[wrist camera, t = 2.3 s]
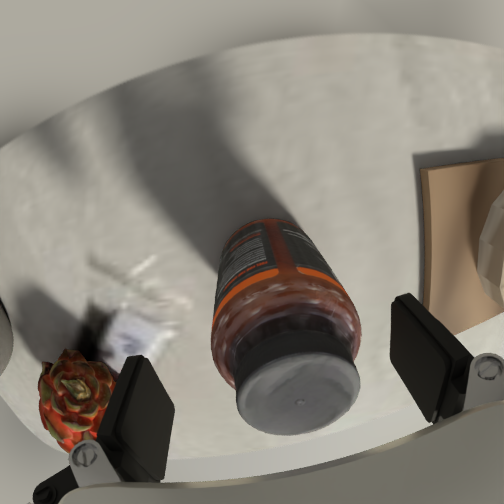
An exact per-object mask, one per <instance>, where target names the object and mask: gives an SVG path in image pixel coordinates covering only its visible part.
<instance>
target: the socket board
mask: <svg viewBox="0 0 504 504" xmlns="http://www.w3.org/2000/svg"><path fill="white" fill-rule="evenodd" d="M420 174H421V184H422V197H423V212H424V239H425V269H424V296H423V306H424V307H425V308H426V309H427V310H428V311H429V312H430V313H431V314H432V315H433V316H434V317H435V318H436V319H438V320H439V321H440V322H441V323H442V324H443V325H444V326H445V327H446V328H447V329H448V330H449V331H450V332H451V333H452V334H453V335H456V334H458V333H460V332H463V331H465V330H467V329H469V328H471V327H474V326H476V325H478V324H480V323H482V322H484V321H486V320H488V319H490V318H492V317H494V316H496V315H498V314H500V313H502V312H504V158H498V159H489V160H481V161H473V162H465V163H458V164H450V165H443V166H436V167H430V168H423V169H420Z"/></svg>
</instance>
